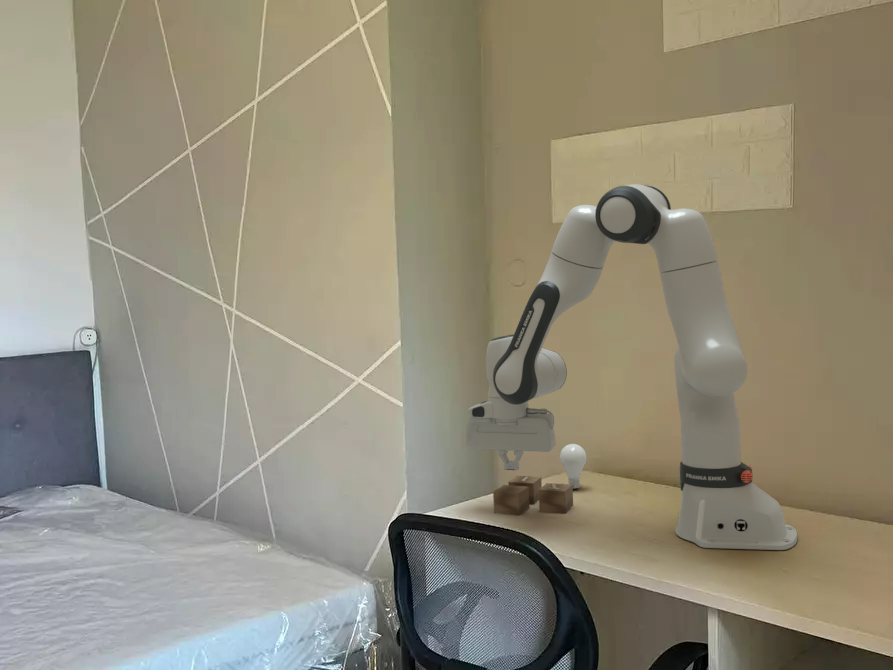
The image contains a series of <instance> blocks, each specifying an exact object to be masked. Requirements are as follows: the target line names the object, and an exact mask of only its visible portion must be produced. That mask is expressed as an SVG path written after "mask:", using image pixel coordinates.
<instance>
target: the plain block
mask: <svg viewBox="0 0 893 670" xmlns="http://www.w3.org/2000/svg"><path fill="white" fill-rule="evenodd" d="M492 493H493V495H492V496H493V512H494V514H499V515H500V514H501V515H509V516H510V515H511V516H512V515H513V516H521V515H523V514H524V513H525V512H526V511H528V510H529V509H530V508H531V507H530V506H531V505H530V504H529V487H525V486H512V485H508V484H504V485H501V486H500V487H498V488H496V489H495V490H493V492H492Z"/></svg>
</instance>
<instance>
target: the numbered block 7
mask: <svg viewBox="0 0 893 670" xmlns="http://www.w3.org/2000/svg"><path fill="white" fill-rule="evenodd" d="M573 491H574V490H573V485H571V484H569V483H568V484H567V483H553V482H552V483H549V482H546V483H545V484H544V485H543V486H542V487H541V488H540V489H539V501H538V502H539V503H538V505H539V506H538V508H539V512H540V513H554V514H567V513H568V512H569V511H570V510H571V509H572V508H573V507H574V495H573V493H574V492H573ZM572 506H573V507H572ZM571 507H572V508H571ZM570 508H571V509H570ZM569 509H570V510H569Z"/></svg>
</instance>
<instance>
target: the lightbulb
mask: <svg viewBox="0 0 893 670" xmlns="http://www.w3.org/2000/svg"><path fill="white" fill-rule="evenodd" d="M559 461H560V464H561V466H562V467H563V468H564V470H565V472H566V475H567V479H568V481H567V482H568V484H571V485H573V489H575V490H577V489H579V488H580V486H581V485H580V484H581V483H580V477H581V474H582V473H581V472H582V469H583V468H584V466H585V464H586V462H587V452H586V450H585V448H584V447H582V446H581V445H579V444H577V443H569V444H567V445H565V446H564V447H562V449H561V451H560V452H559Z"/></svg>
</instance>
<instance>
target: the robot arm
mask: <svg viewBox="0 0 893 670" xmlns="http://www.w3.org/2000/svg"><path fill="white" fill-rule="evenodd" d="M616 242H618V243H625V244H636V245H646V244H648V245H650V247H652V249H653V251H654V254H655V256H656V261H657V266H658V271H659V277H660V281H661V285H662V289H663V295H664V299H665V305H666V309H667V314H668V316H669V318H670V321H671V325H672V328H673V331H674V333H675V337H676V340H677V345H678V346H677V348H676V350H675V352H674V359H673V360H674V371H675V372H674V373H675V386H676V395H677V402H678V410H679V411H678V412H679V418H680V434H681V437H680V439H681V440H680V441H681V462H680V463H679V469H678V470H679V471H678V473H679V487H680V491H681V497H680V499H681V500H680V508H679V515H678V520H677V524H676V528H675V530H674V532H675V534H676V535H677V536H678V537H680V538H681V539H683V540H687V541H689V542H691V543H694V544H696V545H697V546H699V547H701V548H704V549H705V548H706V549H728V550H729V549H731V550H732V549H733V550H734V549H735V550H736V549H737V550H762V551H763V550H768V551H769V550H770V551H784V550H788V549H791V548H793V547H794V546H795V545H796V543H797V542H798V533H797V530H796V528H795V527H794V526H792V525H790V524H789V523H788V524H786V523H785V516H784V513H783V510H782V507H781V505H780V503H779V501H777V499H775V498H774V497H772V496H771V495H769V494H768V493H767V492H765V491H764V490H762V489H761V488H760V487H758V485H756V484H755V483H753V477H754V476H753V475H754V474H753V467H752V465H751V464H749V466H748V464H746V463H744V462H742V458H741V456H742V455H741V454H742V453H741V451H742V450H741V449H742V448H741V447H742V446H741V421H740V419H739V414H738V409H737V402H736V398H735V397H736V395H735V393H736V392H737V391H739V389H741V388H742V387H743V384H745V381H746V379H747V376H748V364H747V361H746V358H745V355H744V352H743V349H742V345H741V342H740V339H739V335H738V332H737V328H736V325H735V322H734V320H733V316H732V313H731V311H730V308H729V305H728V301H727V298H726V294H725V287H724V283H723V279H722V273H721V269H720V264H719V259H718V256H717V255H718V254H717V251H716V246H715V244H714V240H713V238H712V234H711V232H710V229H709V225H708V224H707V221H706V219H705V217H704V216H703V215H702V213H700V212H699V211H698V210H695V209H691V208H685V207H684V208H676V209H672V206H671V203H670V200H669V198H668V197H667V196H666V194H665V193H664V192H663V191H661V190H660V189H659V188H656V187H654V186H652V185H646V184H645V185H642V184H639V183H634V184H633V183H632V184H631V183H630V184H625V185H621V186H620V185H619V186H616V187H615V186H614V187H613V188H611V189H610V190H608V191H607V192H606V193H604V194H603V196H601V198H600V199H599V201H598V203H597V205H591V204H581V205H576V206H574V207H573V208H571V209H570V210H569V211H568V213H567V214H566V216H565V218H564V220H563V221H562V224H561V226H560V229H559V230H558V233H557V235H556V238H555V240H554V243H553V245H552V249H551V250H550V251H551V252H550V254H549V257H548V261H547V263H546V266H545V268H544V270H543V272H542V275H541V277H540V279H539V280H538V282H537V285H536V286H535V288H534V289H533V291H532V292H531V295H530V296H529V299H528V301H527V302H526V304H525V307H524V310H523V311H522V314H521V317H520V319H519V321H518V324H517V327H516V329H515V331H514V333H513V334H508V335H501V336H499V337H495V338H492V339H491V340H490V341H489V342H488V344H487V347H486V353H485V356H486V357H485V371H486V379H487V381H488V391H487V400H483V402H480V403H478V404H475V405H473V406H470V407H469V408H468V409H467V415H468V417H469V419H468V420H467V421H466V424H465V425H466V426H465V444H466V446H467V447H468V448H469V449H470V450H490V451H491V450H492V451H498V456H499V457H500V460H501V461H502V463H503V469H504V470H505V471H518V470H520V461H521V459H522V457H523V455H524V452H540V453H541V452H542V453H543V452H544V453H545V452H546V453H548V452H550V451H552V450H553V449H554V448H555V447H556V435H555V430H554V426H555V417H554V414H553V413H552V412H551V411H550V410H548V409H547V408H531V407H529V401H531V400H533V399H536V398H539V397H543V396H546V395H548V394H552V393H554V392H557V391H558V390H560V389H561V388H562V387H563V386H564V384H565V382H566V380H567V373H568V371H567V370H568V369H567V365H566V363H565V360H564V359H563V357H562V356H561V355H560V353H558V352H556V351H554V350H549V349H546V348H543V346H544V344H545V341H546V339H547V336H548V334H549V332H550V329H551V328H552V326H553V324H554V322H556V320H557V319H558V318H559V317H560V316H561V315H562V314H564V313H565V312H567V311H568V310H569V309H571V308H572V307H574V306H575V305H577V304H579V303H581V302H583V301H585V300H586V299H587V298H588V297H589V296H591V294H592V293H593V291H594V289H595V287H596V286H597V284H598V282H599V280H600V277H601V275H602V272H603V269H604V267H605V262H606V260H607V258H608V257H607V256H608V254H609V252H610V250H611V248H612V247H613V245H614V244H615V243H616ZM508 451H513V455H514V456H515V458H514V460H510V458H509V457H508V455H507V454H508Z"/></svg>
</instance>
